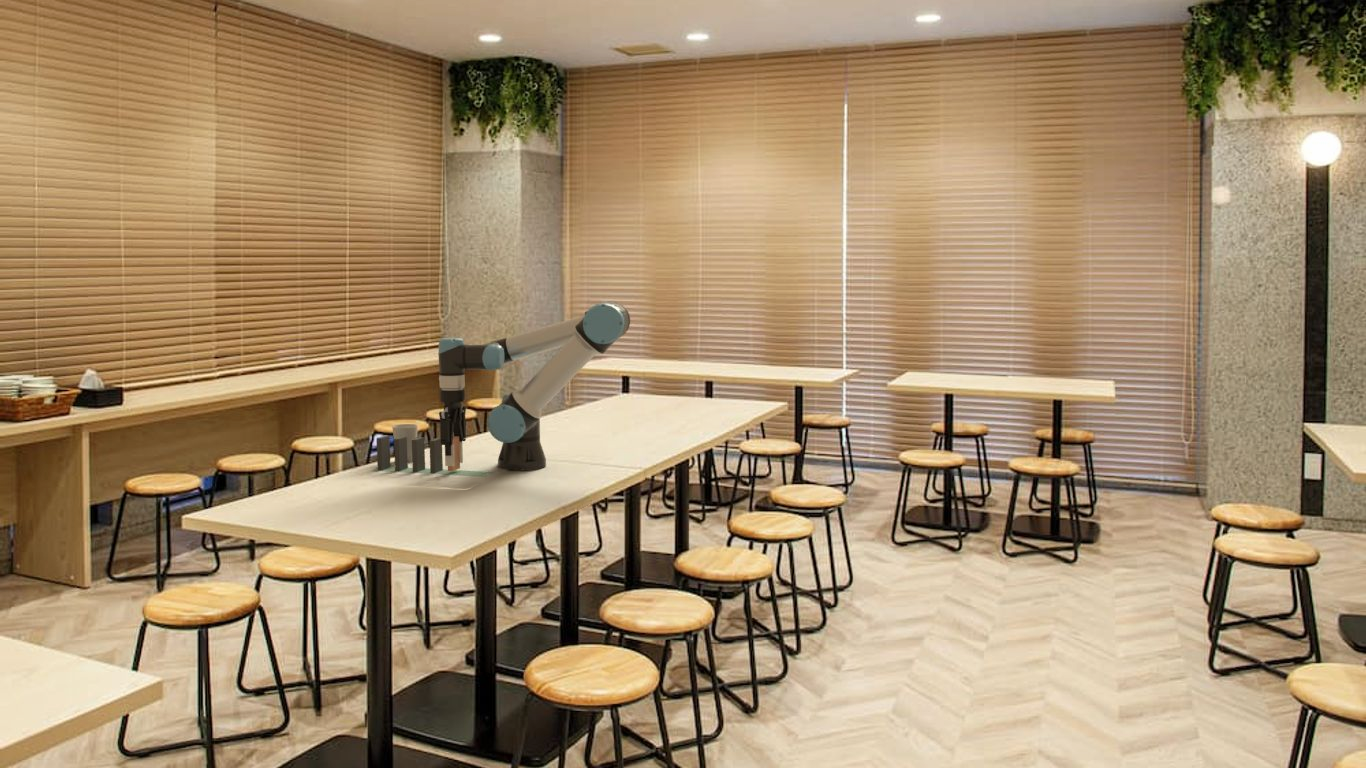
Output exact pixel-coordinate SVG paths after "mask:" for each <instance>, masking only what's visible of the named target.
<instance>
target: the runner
mask: <svg viewBox="0 0 1366 768" xmlns="http://www.w3.org/2000/svg"><path fill="white" fill-rule="evenodd" d="M370 471H373V472H388V473H389V472H390V473H392V472H393V473H404V474H405V473H407V474H409V473H410V474H426V475H427V474H429V475H445V476H447V475H448V476H464V477H465V476H466V477H481V478H482V477H486V476H488V475H492V474H494V471H481V470H479V471H478V470H461V469H457V470H455V471H448V469H445V468H443V470H442V471H439V472H437V473H430V468H426V467H425V469H424V470H422V471H419V472H413V467H408V468H407V469H405V470H402V471H395V466H391V467H390V468H387V469H385V470H378V467H377V468H374V469H372V470H370Z"/></svg>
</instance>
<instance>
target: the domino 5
mask: <svg viewBox="0 0 1366 768" xmlns="http://www.w3.org/2000/svg"><path fill="white" fill-rule="evenodd" d="M452 445H454V465H455V466H447V470H448V471H455V470H461V463H460V446H459V436H454V435H453V443H452Z"/></svg>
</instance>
